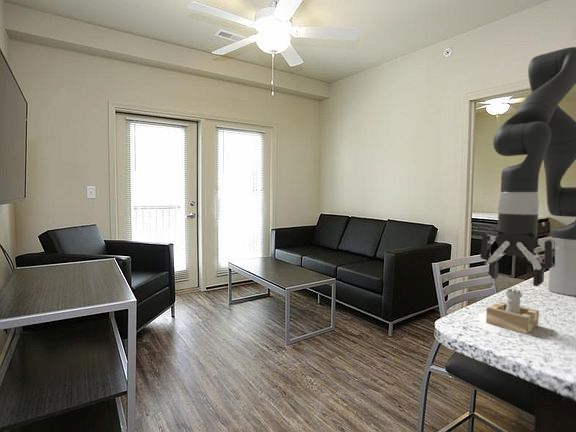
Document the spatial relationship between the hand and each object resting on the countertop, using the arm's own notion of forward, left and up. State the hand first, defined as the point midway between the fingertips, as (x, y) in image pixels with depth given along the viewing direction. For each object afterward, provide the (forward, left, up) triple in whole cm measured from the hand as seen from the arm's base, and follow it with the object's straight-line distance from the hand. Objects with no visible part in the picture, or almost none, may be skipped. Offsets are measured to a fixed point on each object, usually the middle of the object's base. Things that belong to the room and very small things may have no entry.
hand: (514, 281), depth 78 cm
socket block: (0, 0, -10) cm, 10 cm away
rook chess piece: (0, 0, -10) cm, 10 cm away
